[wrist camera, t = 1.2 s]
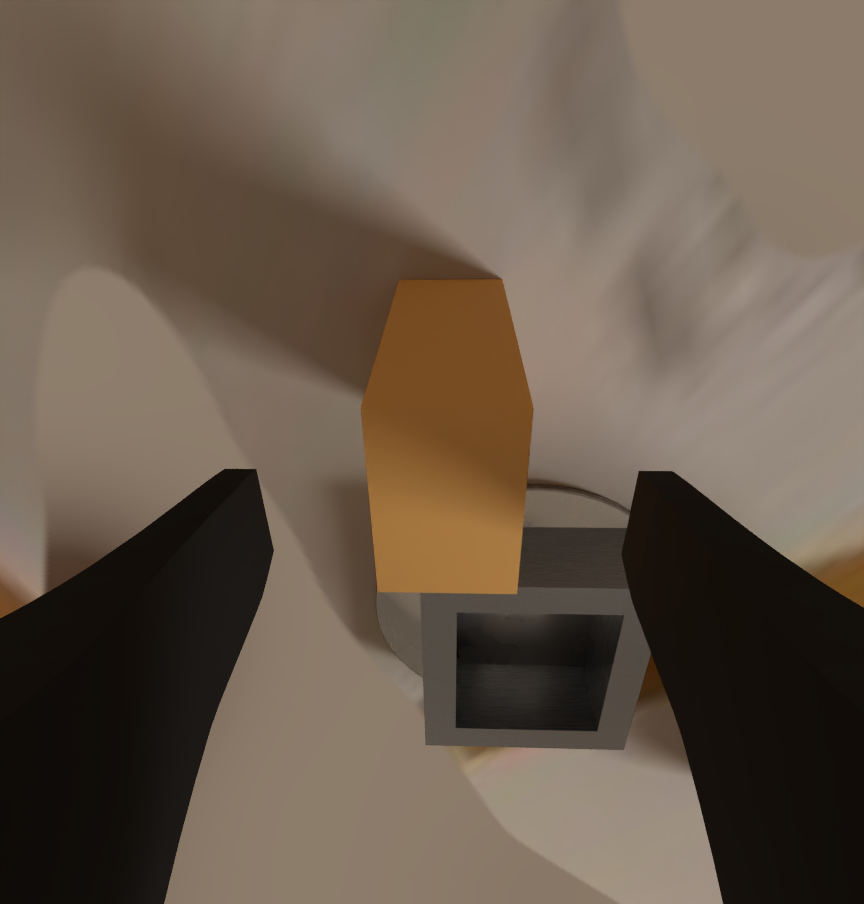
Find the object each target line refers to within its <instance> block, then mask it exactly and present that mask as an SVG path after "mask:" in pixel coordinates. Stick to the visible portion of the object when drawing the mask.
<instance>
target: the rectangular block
mask: <svg viewBox="0 0 864 904" xmlns="http://www.w3.org/2000/svg"><path fill="white" fill-rule="evenodd" d="M361 415H362V426H363V436H364V447H365V458H366V469H367V480H368V491H369V502H370V513H371V524H372V534H373V545H374V556H375V567H376V578H377V589H378V592H405V593H470V594H517V589H518V578H519V567H520V555H521V544H522V533H523V521H524V510H525V499H526V488H527V476H528V465H529V454H530V442H531V431H532V420H533V404H532V400H531V396H530V392H529V387H528V383H527V379H526V375H525V371H524V367H523V363H522V359H521V354H520V350H519V346H518V342H517V338H516V334H515V330H514V326H513V322H512V317H511V313H510V309H509V305H508V301H507V297H506V293H505V289H504V284H503V280H502V279H447V280H399V282H398V286H397V289H396V292H395V296H394V299H393V302H392V306H391V309H390V312H389V316H388V319H387V322H386V326H385V329H384V332H383V336H382V339H381V342H380V346H379V349H378V352H377V356H376V359H375V362H374V366H373V369H372V372H371V375H370V379H369V382H368V385H367V389H366V392H365V395H364V399H363V402H362V405H361Z"/></svg>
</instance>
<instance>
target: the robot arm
mask: <svg viewBox="0 0 864 904" xmlns="http://www.w3.org/2000/svg"><path fill="white" fill-rule="evenodd" d="M273 551H274V550H273V545H272V540H271V536H270V531H269V526H268V522H267V518H266V513H265V508H264V504H263V499H262V494H261V489H260V485H259V480H258V475H257V471H256V469H224V470H223V471H221V472H220V473H218V474H217V475H215V476H214V477H212V478H211V479H210V480H208V481H207V482H205V483H204V484H203V485H201V486H200V487H199V488H197V489H196V490H195V491H194V492H192V493H191V494H190V495H188V496H187V497H186V498H185V499H183V500H182V501H181V502H179V503H178V504H177V505H175V506H174V507H173V508H171V509H170V510H169V511H167V512H166V513H165V514H163V515H162V516H161V517H159V518H158V519H157V520H155V521H154V522H153V523H152V524H150V525H149V526H147V527H146V528H145V529H143V530H142V531H141V532H139V533H138V534H136V535H135V536H133V537H132V538H131V539H129V540H128V541H126V542H125V543H123V544H122V545H120V546H119V547H117V548H116V549H115V550H113V551H112V552H110V553H109V554H107V555H106V556H104V557H103V558H102V559H100V560H99V561H97V562H96V563H94V564H93V565H91V566H90V567H88V568H87V569H85V570H84V571H82V572H80V573H79V574H77V575H76V576H74V577H72V578H71V579H69V580H68V581H66V582H64V583H63V584H61V585H60V586H58V587H56V588H54V589H53V590H51V591H49V592H47V593H46V594H44V595H42V596H41V597H39V598H37V599H35V600H34V601H32V602H30V603H28V604H27V605H25V606H23V607H21V608H19V609H18V610H16V611H14V612H12V613H10V614H8V615H6V616H4V617H2V618H0V904H164V901H165V897H166V893H167V889H168V885H169V881H170V876H171V873H172V868H173V864H174V860H175V856H176V852H177V848H178V843H179V839H180V836H181V832H182V828H183V824H184V821H185V817H186V814H187V810H188V806H189V802H190V799H191V795H192V791H193V787H194V784H195V780H196V777H197V773H198V770H199V766H200V763H201V760H202V756H203V753H204V749H205V745H206V742H207V739H208V735H209V732H210V729H211V726H212V723H213V720H214V717H215V714H216V712H217V709H218V706H219V703H220V701H221V698H222V696H223V693H224V691H225V688H226V686H227V683H228V681H229V678H230V676H231V673H232V671H233V669H234V666H235V664H236V661H237V659H238V656H239V654H240V651H241V649H242V647H243V644H244V642H245V639H246V637H247V634H248V632H249V629H250V627H251V624H252V622H253V619H254V617H255V614H256V612H257V609H258V606H259V604H260V601H261V599H262V596H263V592H264V588H265V584H266V581H267V577H268V573H269V569H270V564H271V560H272V556H273ZM621 555H622V560H623V565H624V569H625V574H626V579H627V583H628V587H629V591H630V595H631V599H632V603H633V606H634V608H635V611H636V614H637V617H638V619H639V622H640V625H641V627H642V630H643V633H644V635H645V638H646V641H647V643H648V646H649V649H650V651H651V654H652V657H653V659H654V662H655V664H656V667H657V670H658V672H659V675H660V677H661V680H662V683H663V685H664V688H665V691H666V693H667V696H668V698H669V701H670V704H671V706H672V709H673V712H674V715H675V718H676V721H677V724H678V727H679V730H680V733H681V736H682V739H683V743H684V746H685V750H686V754H687V757H688V761H689V765H690V769H691V772H692V776H693V780H694V784H695V787H696V791H697V795H698V799H699V803H700V807H701V811H702V815H703V819H704V823H705V827H706V831H707V835H708V839H709V843H710V847H711V852H712V856H713V860H714V864H715V869H716V873H717V878H718V882H719V887H720V891H721V896H722V900H723V904H864V608H863V607H861V606H860V605H858V604H856V603H855V602H853V601H851V600H850V599H848V598H846V597H845V596H843V595H841V594H840V593H838V592H837V591H835V590H833V589H832V588H830V587H829V586H827V585H826V584H824V583H822V582H821V581H819V580H818V579H816V578H815V577H814V576H812V575H811V574H809V573H808V572H806V571H805V570H803V569H802V568H800V567H799V566H797V565H796V564H795V563H793V562H792V561H790V560H789V559H787V558H786V557H784V556H783V555H782V554H780V553H779V552H777V551H776V550H775V549H773V548H772V547H771V546H769V545H768V544H766V543H765V542H764V541H762V540H761V539H760V538H758V537H757V536H756V535H754V534H753V533H752V532H750V531H749V530H748V529H747V528H745V527H744V526H743V525H741V524H740V523H739V522H737V521H736V520H735V519H734V518H732V517H731V516H730V515H728V514H727V513H726V512H725V511H723V510H722V509H721V508H720V507H718V506H717V505H716V504H715V503H713V502H712V501H711V500H709V499H708V498H707V497H706V496H704V495H703V494H702V493H701V492H699V491H698V490H697V489H696V488H694V487H693V486H692V485H690V484H689V483H688V482H687V481H685V480H684V479H683V478H681V477H680V476H678V475H677V474H676V473H674V472H673V471H639V473H638V478H637V483H636V487H635V492H634V497H633V501H632V506H631V511H630V515H629V520H628V525H627V530H626V534H625V539H624V544H623V548H622V553H621Z"/></svg>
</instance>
